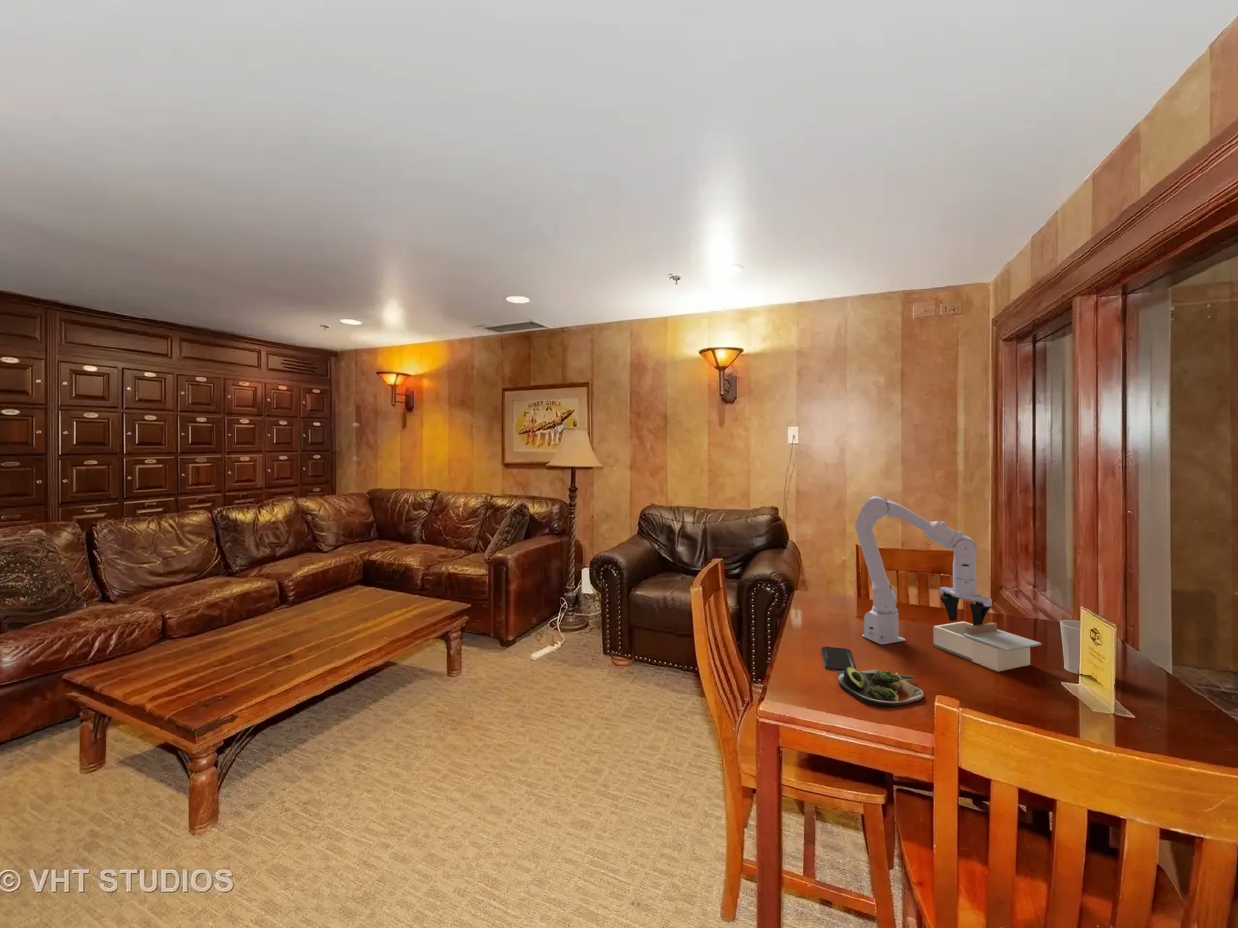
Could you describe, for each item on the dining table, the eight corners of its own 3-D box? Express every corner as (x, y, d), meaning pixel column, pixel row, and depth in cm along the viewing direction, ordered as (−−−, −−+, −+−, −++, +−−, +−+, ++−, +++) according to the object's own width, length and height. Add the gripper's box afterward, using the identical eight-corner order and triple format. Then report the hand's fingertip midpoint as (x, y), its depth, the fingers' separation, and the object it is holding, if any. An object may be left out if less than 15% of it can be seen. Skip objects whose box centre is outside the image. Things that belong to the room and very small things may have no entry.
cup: (1093, 667, 137) (1093, 622, 137) (1106, 679, 130) (1106, 631, 130) (1055, 662, 141) (1055, 618, 141) (1066, 674, 134) (1066, 627, 133)
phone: (850, 648, 152) (856, 669, 137) (850, 652, 152) (856, 673, 137) (821, 646, 154) (824, 666, 140) (821, 649, 154) (824, 670, 140)
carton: (997, 671, 136) (997, 648, 136) (933, 646, 154) (933, 626, 154) (1030, 664, 140) (1030, 642, 140) (963, 640, 158) (963, 621, 158)
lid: (1007, 651, 133) (1007, 641, 133) (962, 635, 145) (962, 626, 145) (1041, 644, 137) (1041, 635, 137) (994, 629, 149) (994, 621, 149)
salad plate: (889, 670, 139) (889, 653, 139) (945, 701, 122) (945, 682, 121) (825, 679, 135) (825, 661, 134) (873, 712, 117) (873, 692, 117)
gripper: (999, 582, 145) (999, 630, 145) (951, 571, 159) (952, 615, 159) (981, 584, 143) (981, 633, 143) (934, 573, 156) (934, 618, 157)
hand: (964, 624), depth 151 cm, fingers open, 7 cm apart
